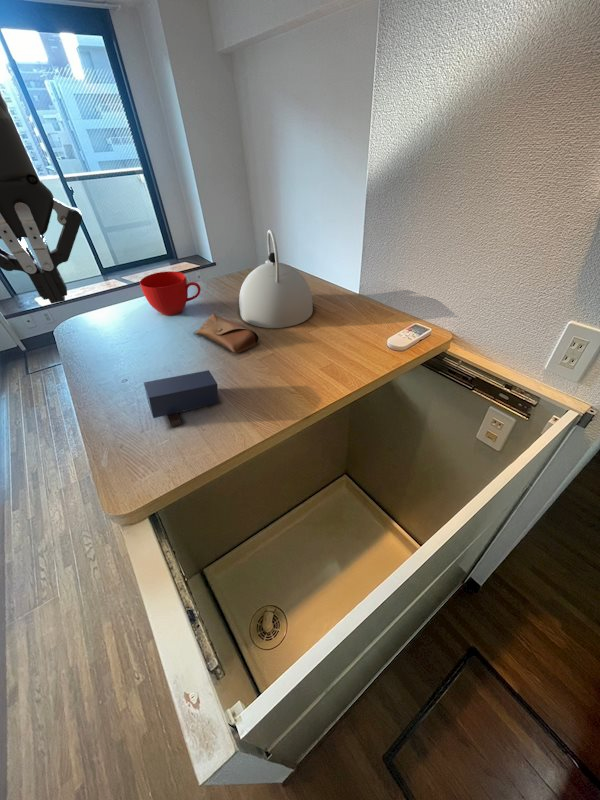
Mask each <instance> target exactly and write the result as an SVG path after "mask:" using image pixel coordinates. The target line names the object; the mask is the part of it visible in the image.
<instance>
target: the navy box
mask: <svg viewBox="0 0 600 800" xmlns="http://www.w3.org/2000/svg"><path fill="white" fill-rule="evenodd" d="M143 387H144V390H145V396H146V399H147V404H148V407H149V409H150V410H149V411H150V413H151V416H152V418H153V419H156V418H161V417H164V416H165V417H166V416H167V415H170V414H174V413H177V414H179V413H181V412H186V411H190V410H194V409H199V408H203V407H208V406H211V405H215V404H219V390H218V389H219V388H218V387H219V386H218V382H217V381H216V379H215V378H214V376H213V374H212V373H211V371H210V370H209V369H208V370H203V371H197V372H191V373H187V374H186V373H185V374H182V375H175V376H170V377H165V378H160V379H155V380H154V379H153V380H149V381H144V382H143Z"/></svg>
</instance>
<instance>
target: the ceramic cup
mask: <svg viewBox="0 0 600 800" xmlns="http://www.w3.org/2000/svg"><path fill="white" fill-rule="evenodd" d="M139 285H140V287H141V291H142V293H143V295H144V297H145V299H146V300H147V302H148V303H149V305H150V306H151V307H152V308H153V309H154V310H156V311H157V312H158V313H160V314H161V315H164V316H175V315H178V314H181V313H182V312H183V310H184V308H185V306H186V305H187V302H190V301H192V300H194V299H197V298H198V297H199V296H200V294H201V286H200V284H199V283H198V282H195V281H190V282H187V277H186V275H185V274H184V273H183V272H180V271H169V270H168V271H159V272H155V273H152V274H151V273H150V274H148V275H146V276H144V277H142V278H141V279H140V281H139ZM191 286H195V287H196V288H197V292H196V294H195V295H193V296H191V297H189V291H188V290H189V288H190V287H191Z"/></svg>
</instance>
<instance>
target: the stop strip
mask: <svg viewBox="0 0 600 800" xmlns="http://www.w3.org/2000/svg"><path fill="white" fill-rule="evenodd" d="M166 418H167V420H168V422H169V424H170V427H171V428H174V427H177V426H180V425H181V424H182V421H181V418H180V415H179V413H174V414H170V415H166Z"/></svg>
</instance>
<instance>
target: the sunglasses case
mask: <svg viewBox="0 0 600 800" xmlns="http://www.w3.org/2000/svg"><path fill="white" fill-rule="evenodd" d="M194 334H195V335H198V336H201V337H204V339H205V338H206V339H207V340H209V341H212V342H213V343H215V344H217V345H219V346H220V347H222V348H224V349H226V350H228V351H230V352H231V353H233V354H239V353H243V352H245V351H247V350H250V349H251V348H253V347H254V346H256V345H257V344H258V342H259V339H260V338H259V335H258V334H257V332H255V330H252V329H249V328H246V327H244V326H243V325H241V324H239V323H236V322H234V321H232V320H229V319H227V318H224V317H222V316H219V315H217V314H215V312H212V313H211V315H210V317H209V318H207V320H206V321H205V322H204V323H203V324H202V325H201V327H200V328H199V329H198V330H197V331H195V332H194Z"/></svg>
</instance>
